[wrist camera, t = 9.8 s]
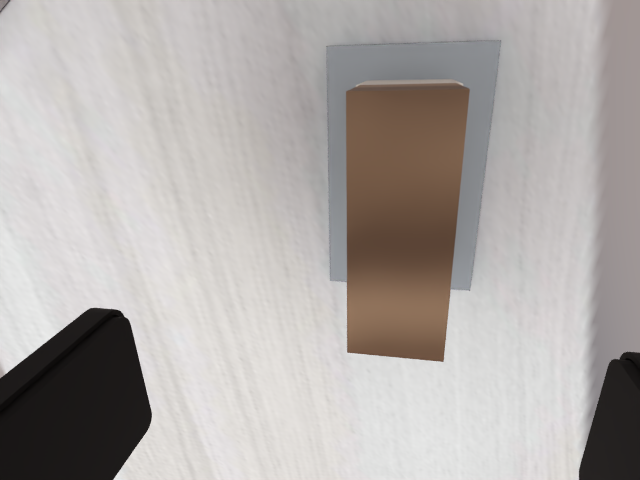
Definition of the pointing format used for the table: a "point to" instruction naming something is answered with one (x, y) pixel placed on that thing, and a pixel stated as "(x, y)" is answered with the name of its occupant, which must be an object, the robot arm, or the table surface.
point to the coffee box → (3, 3)
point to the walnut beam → (402, 215)
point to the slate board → (414, 64)
